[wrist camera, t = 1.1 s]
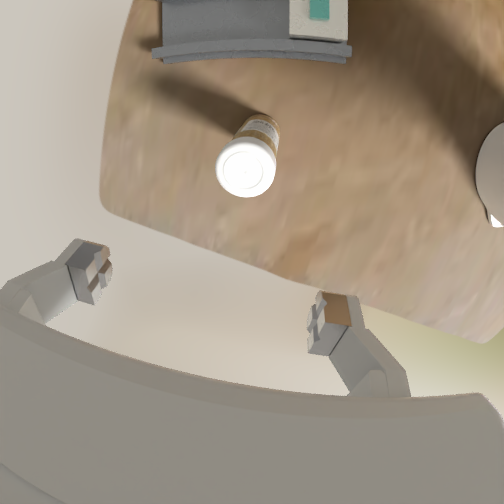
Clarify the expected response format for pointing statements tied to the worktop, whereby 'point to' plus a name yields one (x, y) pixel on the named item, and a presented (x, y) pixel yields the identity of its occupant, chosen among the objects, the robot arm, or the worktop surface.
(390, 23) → the worktop surface
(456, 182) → the worktop surface
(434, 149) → the worktop surface
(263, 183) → the sprinkles bottle
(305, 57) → the rail
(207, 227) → the worktop surface
